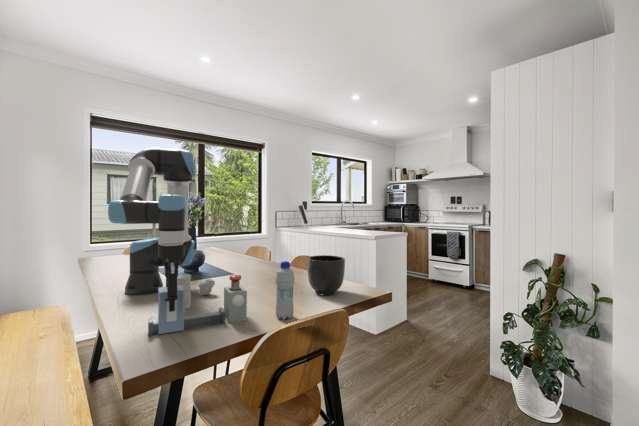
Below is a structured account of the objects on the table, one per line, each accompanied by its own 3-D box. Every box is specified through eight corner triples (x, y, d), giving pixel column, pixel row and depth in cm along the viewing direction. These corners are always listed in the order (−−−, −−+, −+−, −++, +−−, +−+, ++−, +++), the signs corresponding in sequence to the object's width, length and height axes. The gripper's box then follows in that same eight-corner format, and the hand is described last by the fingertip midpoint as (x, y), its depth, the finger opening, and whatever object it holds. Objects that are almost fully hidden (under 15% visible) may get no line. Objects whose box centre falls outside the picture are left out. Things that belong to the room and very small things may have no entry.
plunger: (228, 298, 109) (228, 275, 109) (239, 296, 111) (239, 274, 111) (230, 301, 105) (230, 278, 105) (242, 299, 107) (242, 276, 107)
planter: (352, 294, 139) (352, 259, 139) (320, 300, 129) (321, 262, 129) (329, 286, 153) (330, 254, 153) (300, 291, 143) (300, 256, 143)
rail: (148, 330, 96) (148, 317, 96) (222, 318, 107) (222, 307, 107) (148, 336, 91) (148, 322, 91) (225, 323, 102) (225, 311, 102)
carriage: (158, 325, 99) (158, 286, 98) (181, 322, 102) (182, 284, 102) (158, 335, 91) (158, 293, 91) (184, 331, 95) (184, 290, 95)
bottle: (275, 314, 112) (276, 259, 111) (293, 314, 112) (294, 259, 112) (274, 321, 105) (275, 263, 105) (293, 320, 106) (294, 263, 105)
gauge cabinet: (223, 314, 110) (224, 287, 110) (240, 312, 113) (240, 285, 113) (229, 322, 103) (229, 293, 103) (246, 319, 106) (247, 291, 106)
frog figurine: (215, 295, 134) (215, 279, 134) (198, 297, 131) (198, 281, 131) (213, 292, 139) (214, 276, 139) (197, 293, 136) (197, 278, 136)
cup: (181, 311, 113) (181, 279, 113) (162, 309, 115) (162, 277, 114) (194, 304, 121) (195, 274, 121) (176, 303, 123) (176, 273, 122)
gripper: (157, 241, 103) (157, 309, 103) (158, 248, 86) (158, 330, 86) (181, 240, 106) (181, 306, 107) (187, 247, 90) (187, 325, 90)
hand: (171, 317), depth 97 cm, fingers closed on carriage, 6 cm apart
